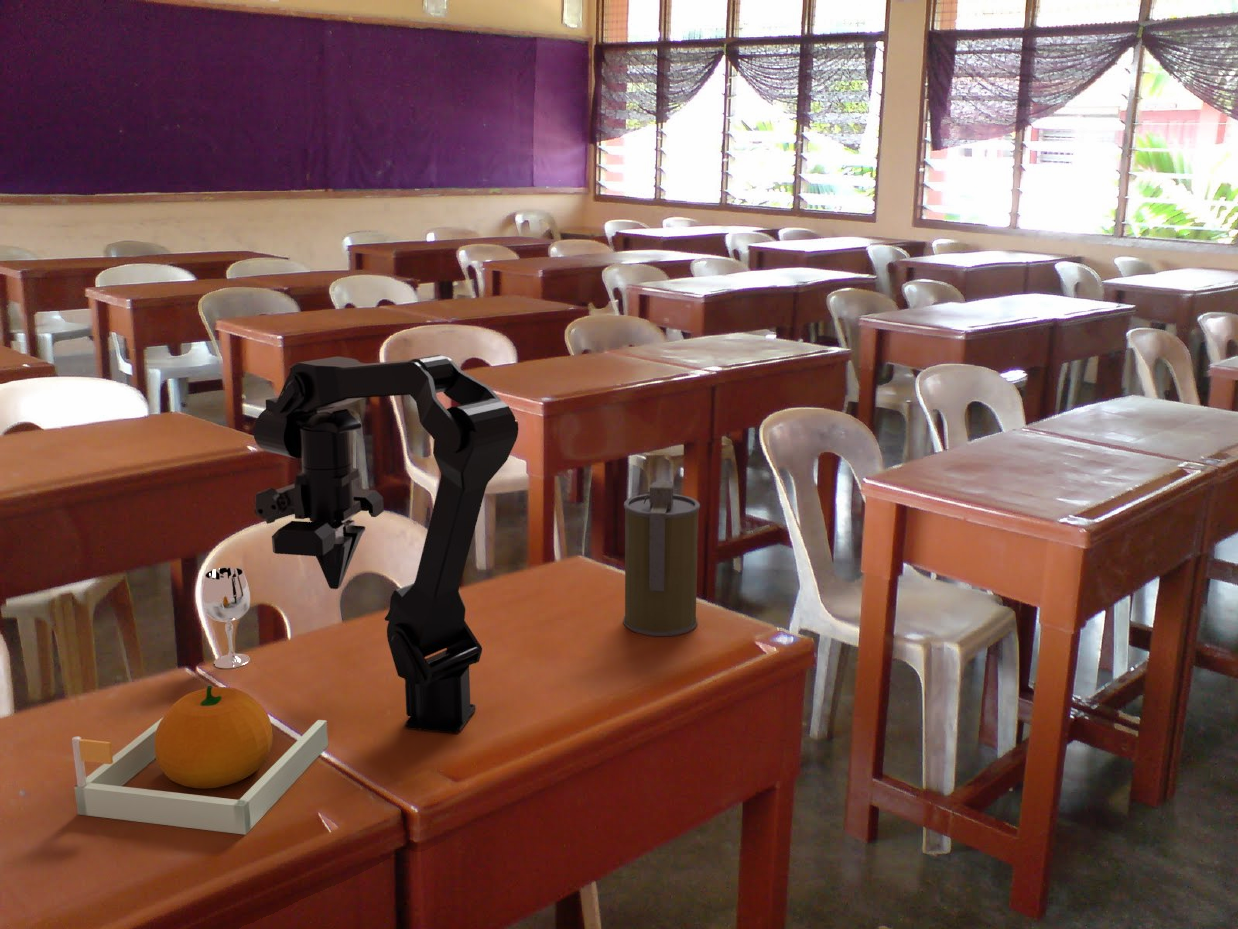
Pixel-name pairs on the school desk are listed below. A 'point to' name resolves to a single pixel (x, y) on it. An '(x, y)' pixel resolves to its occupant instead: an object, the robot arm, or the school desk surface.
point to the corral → (177, 809)
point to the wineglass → (227, 606)
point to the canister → (661, 562)
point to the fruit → (213, 738)
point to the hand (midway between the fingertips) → (335, 587)
